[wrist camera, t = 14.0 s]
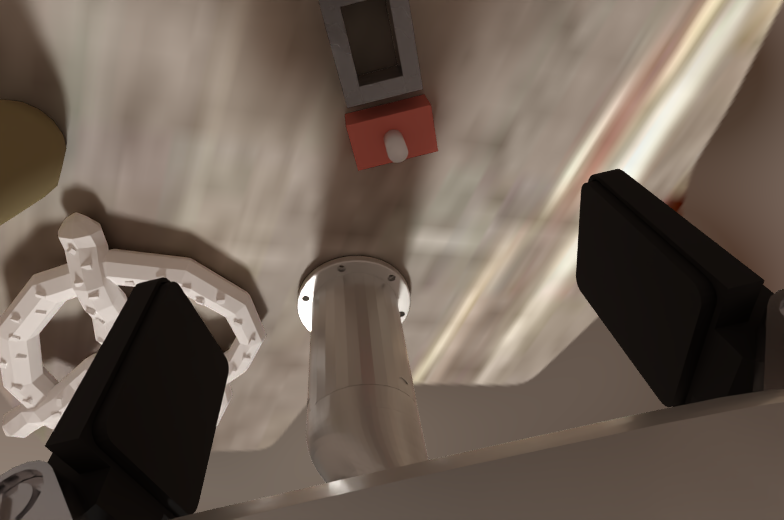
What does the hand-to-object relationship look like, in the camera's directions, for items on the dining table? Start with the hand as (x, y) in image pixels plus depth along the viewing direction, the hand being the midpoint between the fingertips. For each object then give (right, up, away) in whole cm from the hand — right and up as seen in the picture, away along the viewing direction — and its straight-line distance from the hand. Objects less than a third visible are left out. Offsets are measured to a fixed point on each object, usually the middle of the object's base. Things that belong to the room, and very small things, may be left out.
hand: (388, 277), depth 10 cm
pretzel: (-28, -8, +39) cm, 49 cm away
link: (-2, +18, +24) cm, 30 cm away
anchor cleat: (0, +12, +29) cm, 31 cm away
